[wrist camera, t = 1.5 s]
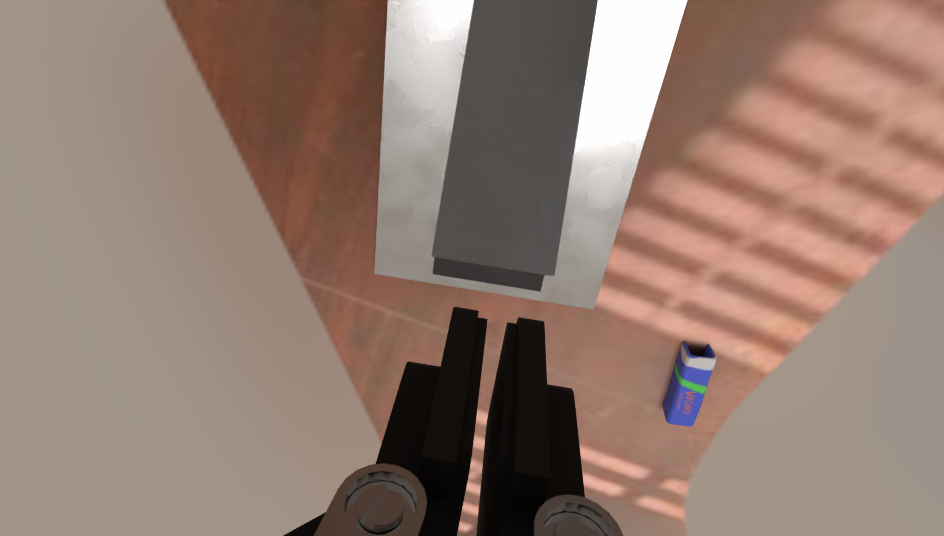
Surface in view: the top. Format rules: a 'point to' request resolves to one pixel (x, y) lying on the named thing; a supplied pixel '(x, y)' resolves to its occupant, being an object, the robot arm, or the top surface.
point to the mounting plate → (595, 156)
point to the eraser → (688, 386)
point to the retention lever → (515, 133)
